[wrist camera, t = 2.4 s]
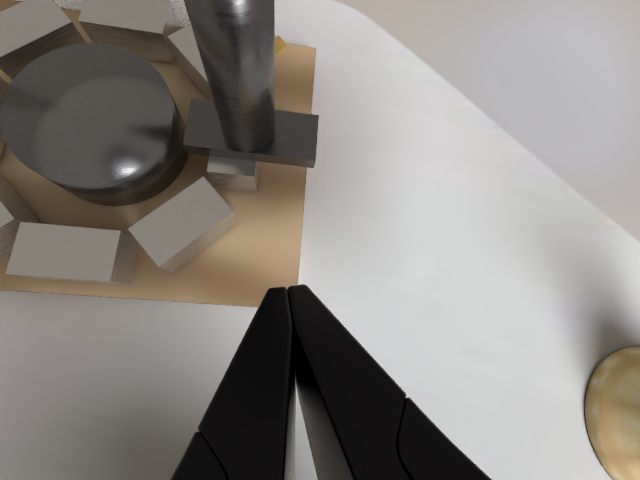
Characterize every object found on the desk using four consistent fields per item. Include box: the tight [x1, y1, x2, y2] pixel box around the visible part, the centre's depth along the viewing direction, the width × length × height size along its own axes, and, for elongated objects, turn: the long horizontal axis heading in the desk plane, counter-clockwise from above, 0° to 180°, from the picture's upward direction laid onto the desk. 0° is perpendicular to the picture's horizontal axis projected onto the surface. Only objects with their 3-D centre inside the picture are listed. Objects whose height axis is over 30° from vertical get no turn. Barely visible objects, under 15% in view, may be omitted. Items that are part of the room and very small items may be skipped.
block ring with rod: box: [0, 0, 319, 285], centre depth 12 cm, size 15×18×11 cm
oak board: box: [0, 0, 316, 307], centre depth 18 cm, size 16×19×1 cm
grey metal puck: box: [0, 43, 188, 206], centre depth 16 cm, size 7×7×3 cm
